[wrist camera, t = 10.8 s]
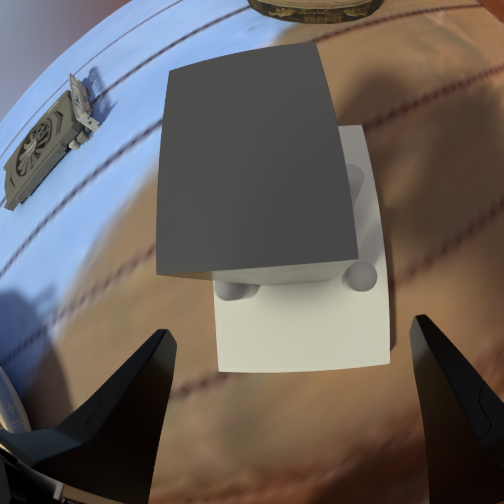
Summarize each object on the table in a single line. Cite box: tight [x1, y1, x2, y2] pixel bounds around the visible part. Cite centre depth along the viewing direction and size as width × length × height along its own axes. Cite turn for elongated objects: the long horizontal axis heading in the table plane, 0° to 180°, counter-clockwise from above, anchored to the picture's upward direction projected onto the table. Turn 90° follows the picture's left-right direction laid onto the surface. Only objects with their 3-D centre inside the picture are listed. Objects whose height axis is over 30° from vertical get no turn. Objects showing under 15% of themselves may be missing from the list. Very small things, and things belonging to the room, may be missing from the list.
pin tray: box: [213, 125, 390, 372], centre depth 16 cm, size 16×11×5 cm
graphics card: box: [4, 73, 102, 211], centre depth 26 cm, size 17×4×12 cm
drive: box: [156, 42, 359, 286], centre depth 11 cm, size 5×4×13 cm
